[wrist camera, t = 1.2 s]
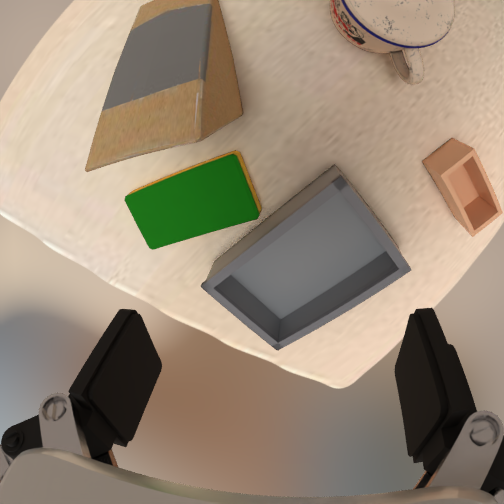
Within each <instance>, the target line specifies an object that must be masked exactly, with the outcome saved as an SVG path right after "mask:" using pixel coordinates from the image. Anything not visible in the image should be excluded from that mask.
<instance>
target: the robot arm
mask: <svg viewBox="0 0 504 504" xmlns="http://www.w3.org/2000/svg"><path fill="white" fill-rule="evenodd" d="M161 369H162V363H161V360H160V358H159V356H158V354H157V351H156V349H155V347H154V345H153V342H152V340H151V338H150V335H149V333H148V331H147V328H146V326H145V324H144V322H143V319H142V317H141V315H140V314H138V313H137V311H136V310H130V309H120V310H119V311H118V312H117V314H116V316H115V317H114V318H113V320H112V322H111V323H110V325H109V326H108V328H107V329H106V331H105V332H104V334H103V336H102V337H101V338H100V340H99V342H98V343H97V345H96V346H95V348H94V350H93V351H92V353H91V355H90V356H89V358H88V359H87V361H86V362H85V364H84V366H83V368H82V369H81V371H80V372H79V374H78V376H77V378H76V379H75V381H74V383H73V384H72V386H71V387H70V389H69V393H70V394H69V396H67V395H65V394H63V393H55V394H51V395H50V396H48V397H47V398H46V399H44V400H43V402H42V404H41V405H40V408H39V415H37V416H35V417H32V418H30V419H28V420H25V421H23V422H21V423H19V424H16V425H14V426H11V427H10V428H8V429H7V430H6V431H5V433H4V434H3V436H2V441H1V445H0V504H504V435H503V434H504V428H503V424H502V422H501V420H500V419H499V417H498V416H497V415H495V414H494V413H492V412H489V411H478V412H477V410H476V407H475V403H474V400H473V397H472V394H471V391H470V388H469V385H468V382H467V379H466V376H465V374H464V371H463V368H462V366H461V363H460V360H459V357H458V355H457V352H456V350H455V348H454V346H453V345H451V344H448V343H447V341H446V338H445V336H444V333H443V331H442V328H441V326H440V323H439V321H438V319H437V317H436V314H435V312H434V310H433V309H432V308H424V309H416V310H415V312H414V314H410V316H409V320H408V324H407V327H406V331H405V335H404V338H403V342H402V345H401V348H400V352H399V355H398V358H397V362H396V365H395V377H396V382H397V387H398V393H399V399H400V404H401V409H402V416H403V422H404V429H405V436H406V443H407V450H408V455H409V456H410V457H411V456H413V461H414V463H418V462H423V466H424V470H426V471H425V472H424V474H423V475H422V477H421V478H420V479H419V481H418V482H417V484H416V485H415V487H414V488H413V489H412V490H403V491H396V492H388V493H380V494H368V495H355V496H340V497H279V496H262V495H251V494H241V493H232V492H225V491H218V490H210V489H205V488H199V487H194V486H188V485H184V484H179V483H174V482H169V481H165V480H161V479H157V478H153V477H149V476H145V475H142V474H138V473H135V472H131V471H128V470H124V469H121V468H119V467H118V465H117V462H116V459H115V457H114V454H113V451H112V446H113V443H114V444H117V445H120V446H124V447H126V446H127V444H128V442H129V441H131V440H132V439H133V437H134V435H135V432H136V430H137V427H138V425H139V422H140V420H141V417H142V415H143V413H144V410H145V408H146V405H147V403H148V401H149V398H150V396H151V393H152V391H153V389H154V386H155V384H156V381H157V379H158V377H159V374H160V372H161Z"/></svg>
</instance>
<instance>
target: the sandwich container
mask: <svg viewBox="0 0 504 504" xmlns="http://www.w3.org/2000/svg"><path fill="white" fill-rule="evenodd" d="M242 114H243V111H242V105H241V99H240V94H239V88H238V83H237V77H236V72H235V67H234V61H233V56H232V52H231V48H230V44H229V40H228V36H227V32H226V28H225V25H224V21H223V17H222V13H221V9H220V5H219V1H218V0H154V1H151V2H149V3H147V4H145V5H142V6H141V7H140V9H139V11H138V14H137V16H136V19H135V21H134V23H133V26H132V29H131V31H130V33H129V36H128V38H127V41H126V43H125V46H124V49H123V51H122V54H121V57H120V59H119V62H118V64H117V67H116V69H115V72H114V75H113V78H112V81H111V84H110V87H109V90H108V93H107V96H106V99H105V102H104V106H103V109H102V112H101V115H100V118H99V122H98V125H97V128H96V132H95V135H94V139H93V142H92V146H91V149H90V153H89V157H88V161H87V164H86V168H85V171H86V172H89V171H92V170H94V169H97V168H101V167H104V166H107V165H110V164H113V163H116V162H119V161H123V160H126V159H129V158H133V157H136V156H140V155H144V154H148V153H152V152H156V151H160V150H164V149H168V148H172V147H176V146H181V145H185V144H190V143H195V142H199V141H202V140H204V139H205V138H207V137H208V136H210V135H211V134H213V133H215V132H216V131H218V130H219V129H221V128H222V127H224V126H226V125H227V124H229V123H230V122H232V121H234V120H235V119H237V118H238V117H240V116H242Z"/></svg>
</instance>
